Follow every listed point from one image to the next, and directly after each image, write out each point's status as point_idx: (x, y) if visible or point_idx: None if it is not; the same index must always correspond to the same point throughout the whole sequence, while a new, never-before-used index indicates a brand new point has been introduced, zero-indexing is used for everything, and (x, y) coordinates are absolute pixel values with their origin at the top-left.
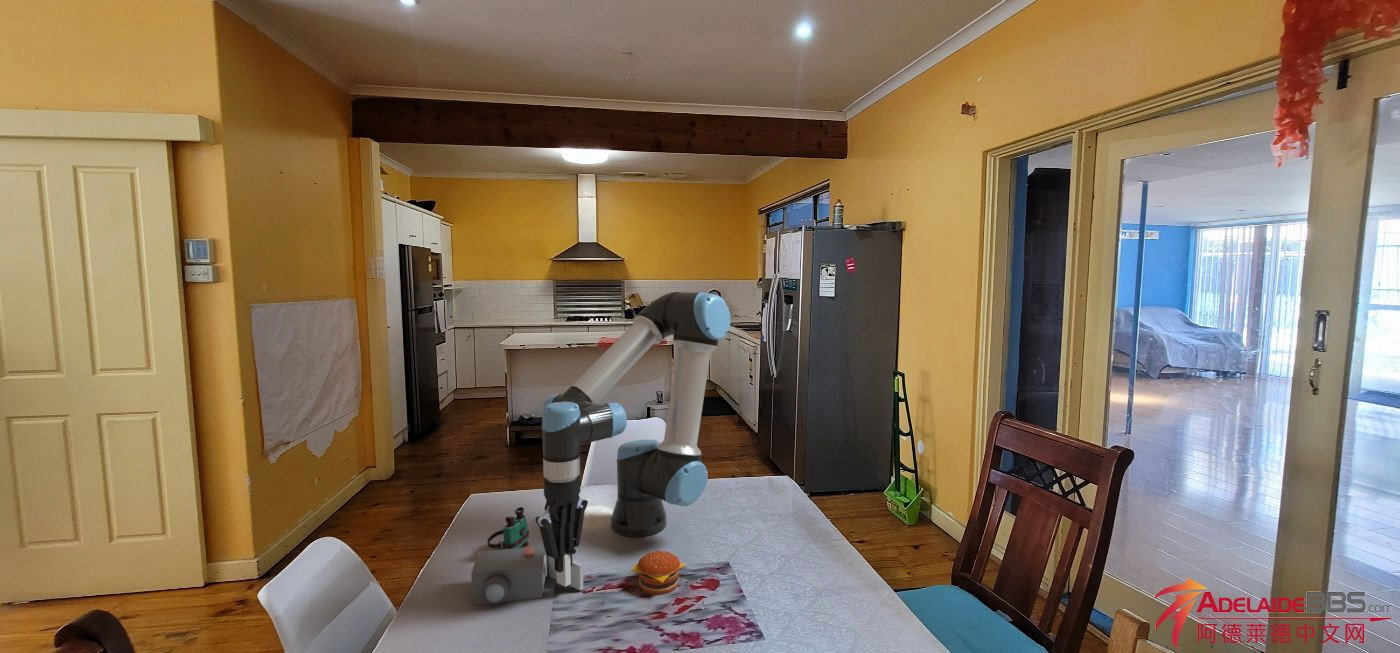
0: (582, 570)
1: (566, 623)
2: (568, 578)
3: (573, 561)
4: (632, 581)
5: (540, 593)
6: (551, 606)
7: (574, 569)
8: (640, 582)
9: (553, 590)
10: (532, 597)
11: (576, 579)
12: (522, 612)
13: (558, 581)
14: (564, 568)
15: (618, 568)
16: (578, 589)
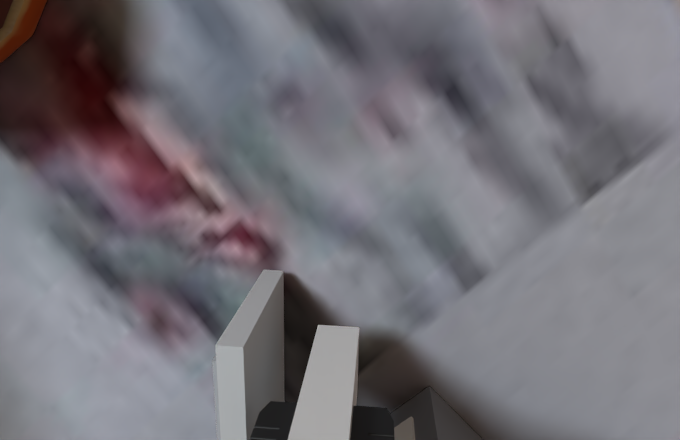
0: (233, 323)
1: (541, 132)
2: (330, 348)
3: (228, 423)
4: (33, 97)
5: (436, 407)
6: (459, 303)
7: (257, 373)
8: (16, 7)
9: None
10: (460, 421)
11: (271, 324)
12: (568, 381)
13: (357, 387)
14: (351, 409)
15: (6, 250)
16: (283, 285)
